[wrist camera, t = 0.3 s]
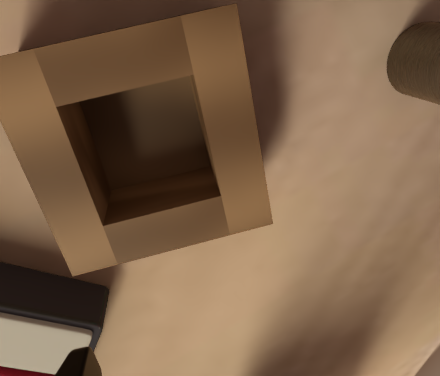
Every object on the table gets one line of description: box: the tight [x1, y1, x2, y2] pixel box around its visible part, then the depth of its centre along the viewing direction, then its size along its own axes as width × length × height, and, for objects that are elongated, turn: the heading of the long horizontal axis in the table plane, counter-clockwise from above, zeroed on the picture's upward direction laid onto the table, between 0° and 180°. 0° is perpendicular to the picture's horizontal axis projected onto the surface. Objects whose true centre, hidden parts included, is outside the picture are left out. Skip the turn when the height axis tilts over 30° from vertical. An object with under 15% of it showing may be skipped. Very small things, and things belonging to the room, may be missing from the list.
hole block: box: [0, 3, 273, 276], centre depth 19 cm, size 10×10×5 cm
